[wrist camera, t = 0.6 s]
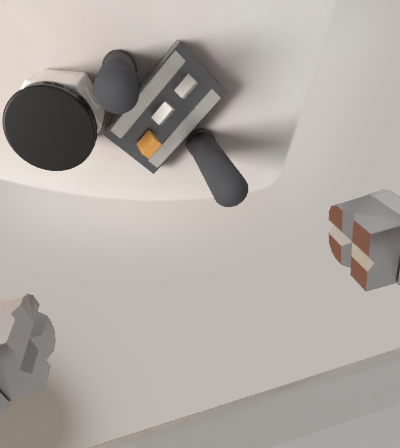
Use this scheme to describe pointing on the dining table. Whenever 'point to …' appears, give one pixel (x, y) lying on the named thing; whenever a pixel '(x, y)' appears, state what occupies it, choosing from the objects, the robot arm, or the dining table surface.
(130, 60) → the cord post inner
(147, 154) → the tripped paddle
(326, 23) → the dining table surface
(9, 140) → the jar
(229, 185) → the cord post outer
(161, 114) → the white block
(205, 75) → the breaker panel
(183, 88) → the white block
